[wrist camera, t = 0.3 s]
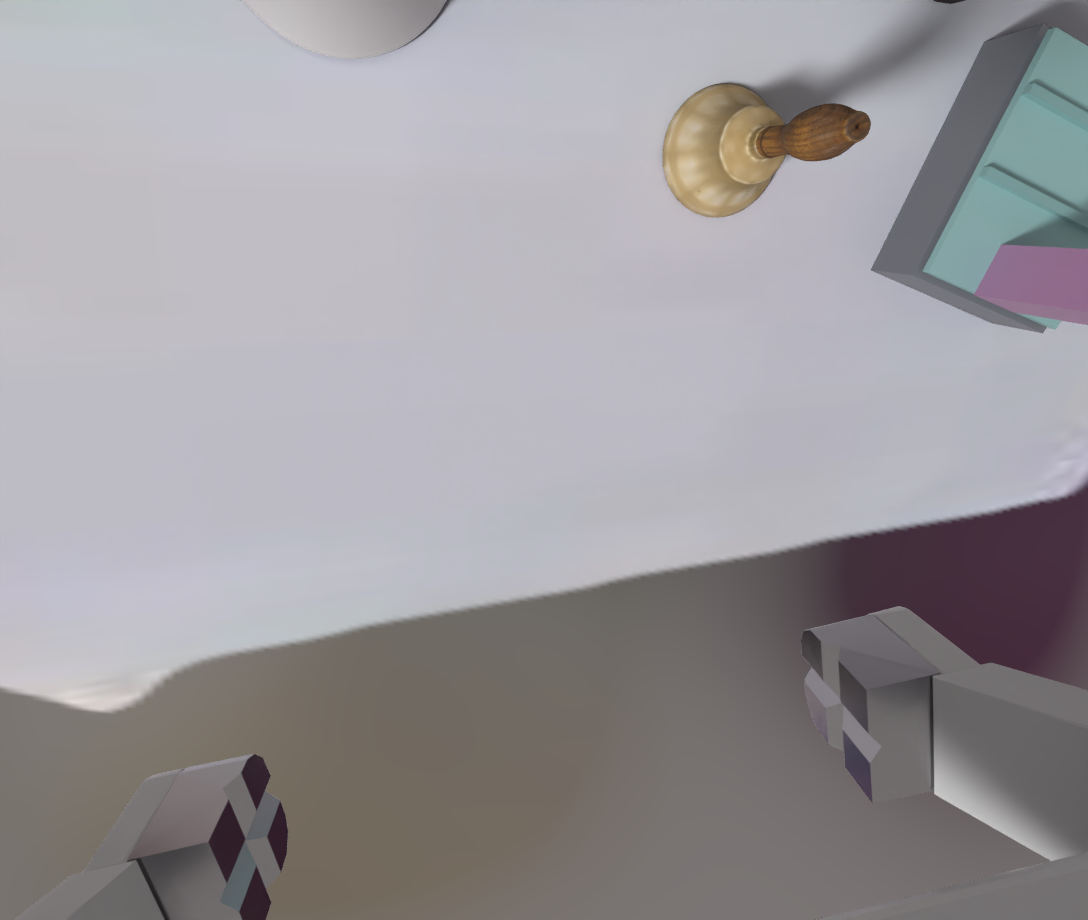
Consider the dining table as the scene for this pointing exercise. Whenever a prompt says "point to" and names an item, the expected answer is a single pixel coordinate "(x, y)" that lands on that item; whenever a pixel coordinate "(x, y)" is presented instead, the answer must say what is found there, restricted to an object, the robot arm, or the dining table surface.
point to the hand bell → (746, 146)
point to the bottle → (948, 1)
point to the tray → (959, 174)
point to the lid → (1029, 198)
